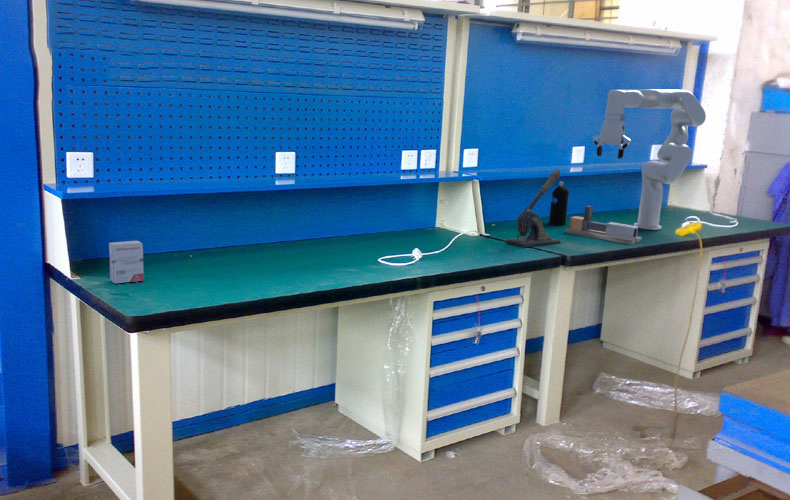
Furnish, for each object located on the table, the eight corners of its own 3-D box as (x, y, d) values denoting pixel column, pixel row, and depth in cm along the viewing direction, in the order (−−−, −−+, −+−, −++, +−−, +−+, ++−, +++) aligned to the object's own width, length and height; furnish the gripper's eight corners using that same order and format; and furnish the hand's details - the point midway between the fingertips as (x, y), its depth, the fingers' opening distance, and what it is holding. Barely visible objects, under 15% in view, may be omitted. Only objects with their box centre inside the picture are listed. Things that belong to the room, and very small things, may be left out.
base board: (577, 229, 332) (577, 226, 332) (641, 240, 314) (641, 237, 314) (565, 232, 323) (565, 229, 323) (630, 244, 305) (631, 241, 305)
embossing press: (504, 243, 295) (510, 169, 288) (544, 238, 309) (551, 167, 302) (523, 248, 286) (530, 172, 280) (564, 243, 300) (571, 171, 294)
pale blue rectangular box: (609, 233, 319) (611, 222, 318) (636, 237, 312) (638, 226, 311) (605, 234, 315) (606, 223, 314) (632, 239, 308) (633, 227, 307)
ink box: (139, 278, 218) (138, 239, 216) (144, 282, 214) (143, 242, 212) (109, 281, 213) (108, 241, 211) (113, 285, 209) (112, 245, 207)
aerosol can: (564, 223, 346) (569, 181, 342) (567, 226, 338) (571, 183, 334) (547, 221, 347) (551, 180, 343) (549, 225, 339) (553, 182, 335)
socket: (574, 226, 330) (575, 216, 329) (586, 229, 326) (587, 218, 325) (568, 228, 325) (569, 217, 324) (581, 230, 322) (582, 219, 321)
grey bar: (580, 227, 327) (582, 204, 325) (615, 233, 317) (618, 210, 315) (576, 228, 324) (578, 205, 321) (611, 234, 314) (614, 211, 312)
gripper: (636, 119, 320) (631, 158, 324) (599, 117, 330) (594, 154, 334) (629, 119, 314) (624, 159, 318) (592, 117, 325) (587, 155, 329)
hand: (609, 157), depth 326 cm, fingers open, 9 cm apart
